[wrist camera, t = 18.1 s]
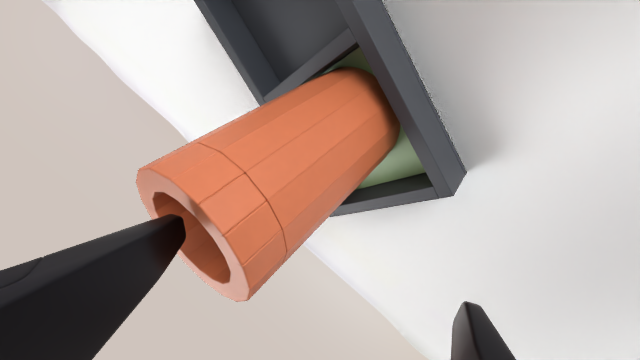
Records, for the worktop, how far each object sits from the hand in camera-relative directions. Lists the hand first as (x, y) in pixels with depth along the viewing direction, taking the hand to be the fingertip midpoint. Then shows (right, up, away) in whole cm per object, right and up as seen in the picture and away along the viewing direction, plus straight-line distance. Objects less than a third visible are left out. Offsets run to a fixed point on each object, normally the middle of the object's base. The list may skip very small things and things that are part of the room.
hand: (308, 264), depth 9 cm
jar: (+2, +7, +10) cm, 12 cm away
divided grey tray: (+1, +10, +10) cm, 14 cm away
